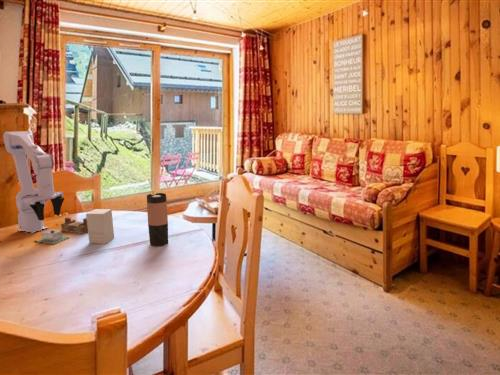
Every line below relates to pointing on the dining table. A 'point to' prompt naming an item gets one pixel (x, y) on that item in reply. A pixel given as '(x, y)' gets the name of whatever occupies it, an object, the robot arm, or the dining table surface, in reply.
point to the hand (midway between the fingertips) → (49, 217)
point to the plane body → (75, 225)
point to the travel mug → (157, 219)
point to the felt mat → (54, 241)
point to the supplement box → (100, 226)
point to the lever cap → (51, 235)
